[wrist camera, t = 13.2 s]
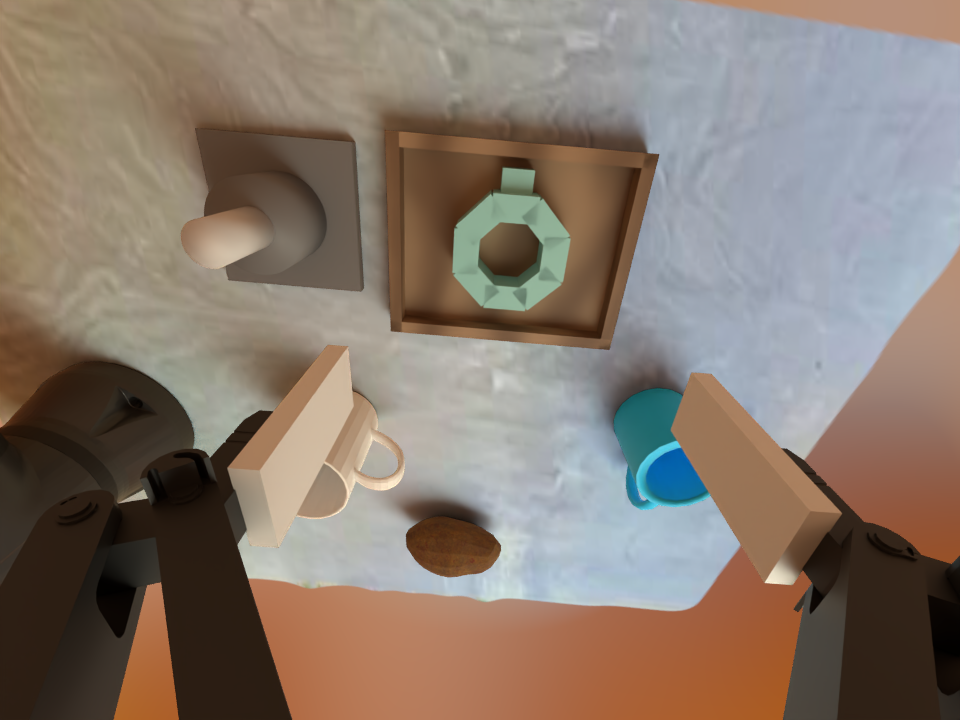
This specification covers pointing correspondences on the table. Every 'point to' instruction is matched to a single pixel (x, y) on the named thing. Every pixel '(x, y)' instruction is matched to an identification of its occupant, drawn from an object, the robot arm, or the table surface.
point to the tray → (511, 235)
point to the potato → (452, 546)
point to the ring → (519, 208)
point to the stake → (279, 210)
